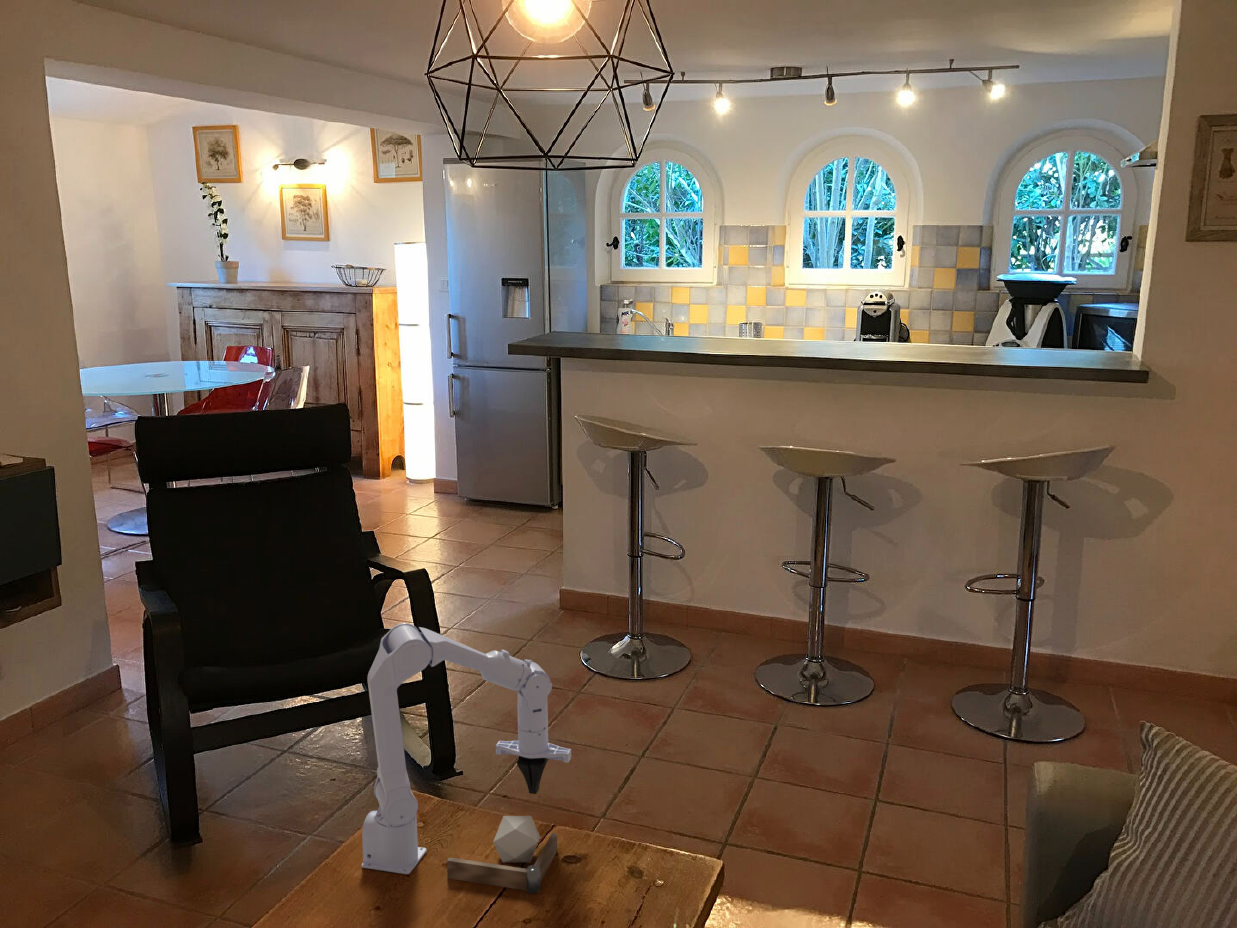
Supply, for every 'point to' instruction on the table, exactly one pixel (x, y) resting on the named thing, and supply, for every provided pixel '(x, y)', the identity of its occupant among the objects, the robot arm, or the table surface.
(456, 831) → the table surface
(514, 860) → the die
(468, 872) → the wooden l-shaped bracket
